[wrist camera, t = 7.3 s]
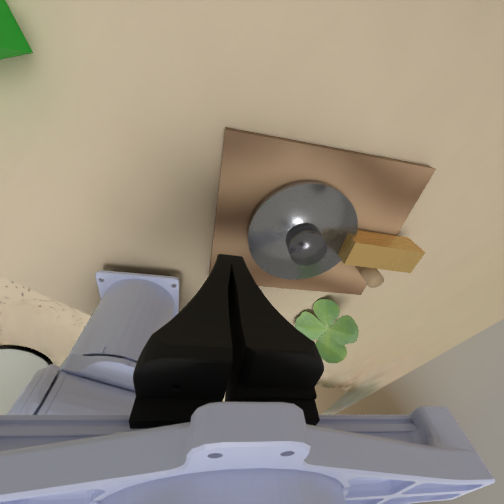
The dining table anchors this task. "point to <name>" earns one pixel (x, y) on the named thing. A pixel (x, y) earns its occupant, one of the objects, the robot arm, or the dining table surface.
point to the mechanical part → (11, 35)
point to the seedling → (328, 330)
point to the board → (316, 169)
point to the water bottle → (17, 372)
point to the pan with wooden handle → (319, 235)
